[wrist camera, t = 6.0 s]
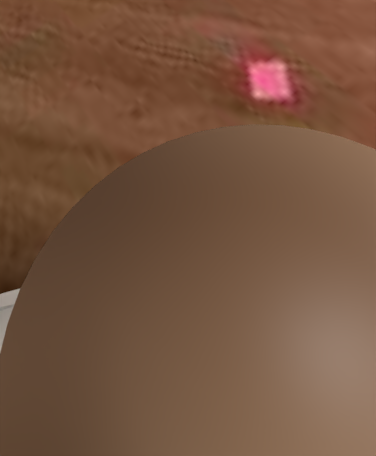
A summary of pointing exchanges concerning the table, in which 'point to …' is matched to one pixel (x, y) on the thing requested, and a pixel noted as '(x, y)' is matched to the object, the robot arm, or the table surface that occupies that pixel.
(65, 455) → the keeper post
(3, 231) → the table surface
